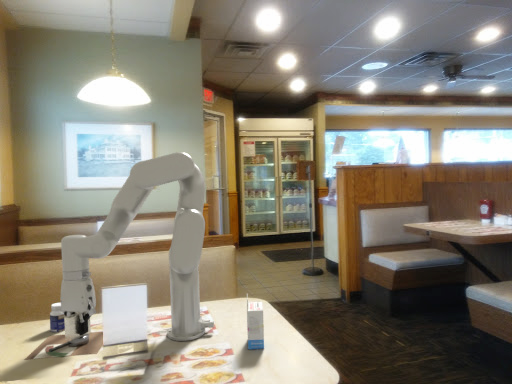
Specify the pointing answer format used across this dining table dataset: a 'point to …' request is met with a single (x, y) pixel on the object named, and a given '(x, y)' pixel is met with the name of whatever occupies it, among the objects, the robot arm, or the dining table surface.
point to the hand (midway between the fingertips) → (78, 332)
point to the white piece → (73, 332)
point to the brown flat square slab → (67, 347)
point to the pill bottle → (57, 318)
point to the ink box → (255, 325)
